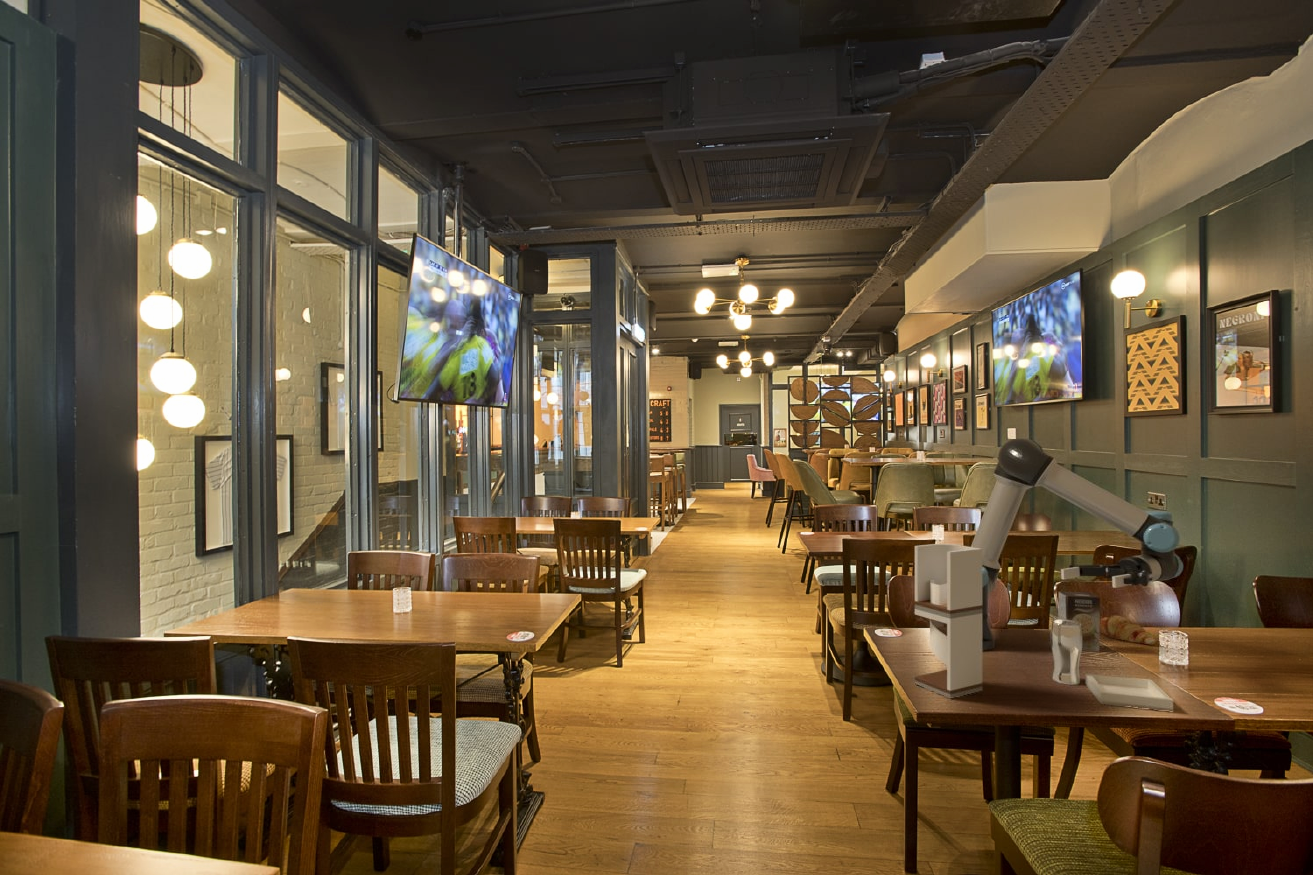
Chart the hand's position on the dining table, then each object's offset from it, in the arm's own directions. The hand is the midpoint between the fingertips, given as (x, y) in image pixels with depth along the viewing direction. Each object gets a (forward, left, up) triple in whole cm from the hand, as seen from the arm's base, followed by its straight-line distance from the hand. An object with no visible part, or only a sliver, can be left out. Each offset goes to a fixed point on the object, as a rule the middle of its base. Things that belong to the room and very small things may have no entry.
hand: (1087, 578), depth 177 cm
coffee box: (+4, +26, -26) cm, 37 cm away
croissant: (+19, +43, -26) cm, 54 cm away
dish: (+5, -15, -25) cm, 30 cm away
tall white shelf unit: (-35, -23, -26) cm, 49 cm away
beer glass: (-6, -7, -26) cm, 27 cm away
